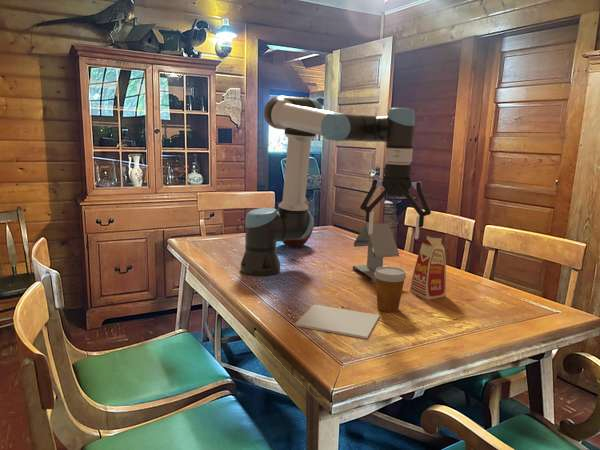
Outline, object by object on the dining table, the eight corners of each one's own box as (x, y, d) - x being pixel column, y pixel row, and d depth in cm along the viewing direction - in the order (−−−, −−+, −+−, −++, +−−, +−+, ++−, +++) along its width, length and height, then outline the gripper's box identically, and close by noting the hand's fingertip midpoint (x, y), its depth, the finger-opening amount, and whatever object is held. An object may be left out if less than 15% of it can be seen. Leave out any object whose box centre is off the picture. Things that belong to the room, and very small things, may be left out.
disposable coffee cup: (404, 315, 135) (407, 276, 133) (371, 312, 136) (374, 273, 134) (403, 304, 144) (405, 267, 142) (372, 301, 146) (374, 265, 143)
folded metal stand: (397, 282, 166) (401, 228, 163) (373, 284, 164) (376, 229, 160) (374, 268, 184) (377, 218, 180) (352, 269, 181) (355, 219, 177)
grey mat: (294, 325, 125) (295, 323, 125) (314, 306, 140) (314, 304, 140) (367, 339, 119) (367, 336, 118) (379, 317, 133) (379, 315, 133)
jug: (292, 239, 230) (294, 179, 224) (322, 244, 220) (324, 182, 214) (267, 245, 214) (268, 181, 209) (298, 252, 204) (300, 185, 198)
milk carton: (427, 299, 149) (432, 239, 145) (408, 290, 157) (412, 233, 153) (448, 296, 153) (453, 237, 150) (428, 287, 161) (433, 231, 158)
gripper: (352, 162, 133) (348, 233, 137) (442, 166, 124) (435, 242, 128) (358, 161, 140) (355, 229, 144) (444, 165, 131) (437, 237, 135)
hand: (393, 235), depth 136 cm, fingers open, 13 cm apart
